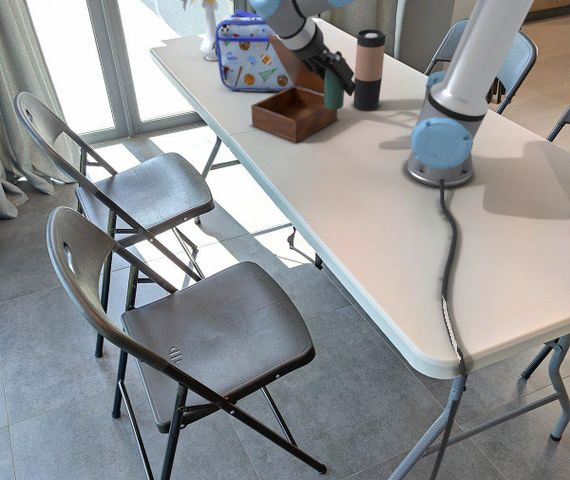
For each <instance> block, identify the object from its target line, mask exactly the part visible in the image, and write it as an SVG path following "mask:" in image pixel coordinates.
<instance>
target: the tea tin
mask: <svg viewBox="0 0 570 480" xmlns="http://www.w3.org/2000/svg"><path fill="white" fill-rule="evenodd" d="M343 58H344V60H345V61H346V62H347V59H346V58H345V57H343ZM338 82H339V80H338V79H337V78H336V77H335V76H334V75H333V74H332V73H331V72H330V71H328V70H327V69H326V68H325V79H324V94H323V95H324V107H325V108H327V109H331V110H337V111H338V110H340V109H342V108H344V102H345V101H344V98H345V90H344V89H343V88H342V86H340V85H339V83H338Z"/></svg>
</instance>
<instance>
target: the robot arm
mask: <svg viewBox="0 0 570 480" xmlns="http://www.w3.org/2000/svg"><path fill="white" fill-rule="evenodd" d="M355 1H356V0H248V2H249V3H250V5H251V7H252V8H253V9H254V11H255V12H256V14H258V16H259V17H260V18H261V19H262V20H263V21H264V22H265V23H266V24H267V25H268V26H269V27H270V28H271V29H272V30H273V31H274V32H275V34H276V35H277V37H278V38H279V39H280V40H281V42H282V43H283V44H284V45H285V46H286V47H287V48H288V49H289V51H290V52H291V53H292V54H293V55H294V56H295V57H296V58H297V59H298V60H299V61H300V62H301V63H302V64H303V65H304V67H305V68H306V69H307V70H308V71H309V72H312V71H314V73H315V74H316V75H318V76H320V78H321V79H322V80H323V81H324V79H325V68H326V69H327V70H328V71H330V72H331V73H332V74H333V75H334V76H335V77H336V78H337V79H338V80H339V82H338V83H339V85H340V86H342V88H343V89H344V92H345V94H347V95H348V96H350V97H352V96H353V95H354V90H355V88H356V85H355V83H354V80H353V77H354V76H355V71H353V69H352V68H351V66H350V65H349V64H348V63H347V60H346V61H345V60H344V58H345V57H343V55H342V54H343V53H342V52H341V51H339V50H337V51H335V52H332V51H331V49H330V48H329V47H328V46H327V45H326V44H325V41H324V40H325V39H324V33H323V31H322V29H321V28H320V26H319V25H318V24H317V22H316V21H315V20H314V19H313V18H312V17H313V16H317V15H319V14H322V13H325V12H328V11H331V10H335V9H338V8H339V9H341V8H343V7H344V6H345V5H348V4H350V3H353V2H355ZM534 1H535V0H476V2H475V5H474V7H473V10H472V12H471V14H470V17H469V19H468V20H467V23H466V25H465V28H464V30H463V32H462V35H461V37H460V40H459V42H458V43H457V46H456V48H455V51H454V53H453V56H452V58H451V59H450V60H451V61H450V63H449V65H448V67H447V69H446V70H440V71H436V72H433V73H430V75H429V76H428V77H427V82H426V84H425V94H424V99H423V103H422V106H421V109H420V111H419V115H418V117H417V120H416V123H415V125H414V127H413V128H412V130H411V133H410V149H411V152H410V154H409V155H408V157H407V161H406V166H405V170H406V173H407V175H408V176H409V178H411V179H412V180H414V181H415V182H416V183H419V184H421V185H425V186H428V187H433V188H439V204H440V208H441V210H442V213H443V214H444V216H445V217H446V219H447V221H448V223H449V224H450V226H451V231H452V236H451V242H450V245H449V246H450V247H449V252H448V256H447V260H446V262H445V267H444V272H443V276H442V277H443V278H442V284H441V291H440V292H441V295H440V297H441V311H442V317H443V321H444V325H445V328H446V331H447V335H448V338H449V342H450V344H451V346H452V349H453V351H454V352H455V350H454V348H453V344H452V340H451V336H450V332H449V329H448V326H447V322H446V319H445V314H444V309H443V298H442V295H443V297H444V299H445V301H446V303H447V304H448V298H447V297H448V296H447V295H448V284H449V278H450V277H449V276H450V271H451V267H452V263H453V260H454V256H455V250H456V245H457V242H458V241H457V240H458V228H457V223H456V222H455V219H454V218H453V217H452V215H451V214H450V212H449V210H448V209H447V206H446V202H445V189H447V188H448V189H449V188H456V187H459V186H462V185H464V184H466V183H468V182H469V181H470V179H471V178H472V174H473V171H474V168H473V167H474V165H473V158H472V157H473V156H472V151H473V145H474V139H475V137H476V135H477V133H478V131H479V129H480V127H481V125H482V123H483V121H484V119H485V117H486V115H487V114H488V111H489V107H490V106H489V103H488V101H487V98H486V97H487V95H488V93H489V91H490V89H491V88H492V85H493V83H494V81H495V79H496V77H497V75H498V73H499V71H500V70H501V67H502V65H503V63H504V61H505V59H506V57H507V55H508V53H509V51H510V49H511V47H512V45H513V43H514V41H515V39H516V37H517V35H518V34H519V31H520V29H521V27H522V25H523V23H524V21H525V19H526V17H527V15H528V13H529V11H530V9H531V7H532V5H533V3H534ZM309 65H310V66H309ZM323 68H324V69H323ZM448 308H449V307H447V311H448V312H449V309H448ZM448 316H449V320H450V323H451V326H452V330H453V333H454V336H455V339H456V335H455V332H454V329H453V325H452V322H451V317H450V314H449V313H448ZM456 340H457V339H456ZM460 349H461V348H458V346H457V352H458V354H459V356H460V357H461V360H460V364H459V362H458V361H457V363H458V374H459V376H461V377H464V376H466V362H465V357H464V354H463V351H462V350H460ZM461 351H462V352H461ZM463 357H464V358H463ZM459 401H460V400H457V399H456V400H455V399H452V401H451V405H450V410H449V413H448V418H447V422H446V425H445V428H444V432H443V435H442V440H441V443H440V446H439V448H438V449H439V450H438V452H437V456H436V459H435V462H434V465H433V468H432V471H431V473H430V477H429V480H436V479H437V476H438V473H439V470H440V467H441V464H442V461H443V458H444V454H445V452H446V449H447V445H448V443H449V439H450V435H451V433H452V429H453V425H454V422H455V417H456V414H457V411H458V406H459Z"/></svg>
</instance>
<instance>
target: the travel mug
mask: <svg viewBox="0 0 570 480" xmlns="http://www.w3.org/2000/svg"><path fill="white" fill-rule="evenodd" d="M385 47H386V33H385V34H384V32H383V31H382V30H380V29H375V28H373V29H372V28H371V29H368V28H367V29H363V30H360V31H358V33H357V39H356V52H355V53H356V54H355V65H354V66H355V67H354V80H353V82H354V83H355V85H356V88H355V90H354V92H353V107H354V108H355V109H357V110H359V111H364V112H369V111H374V110H377V109H378V107H379V102H380V96H381V86H382V79H383V71H384V58H385Z"/></svg>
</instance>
